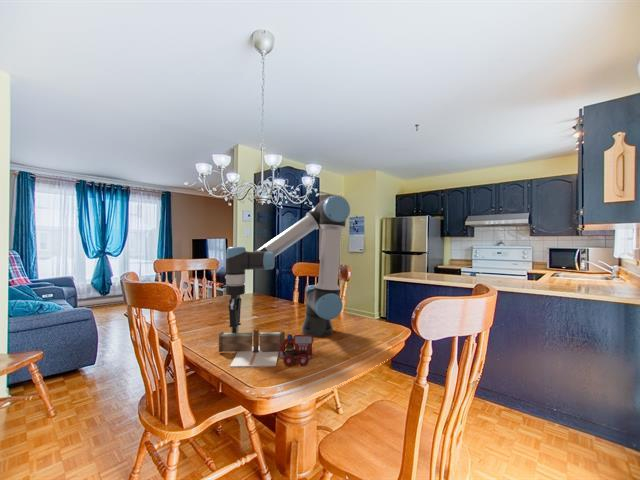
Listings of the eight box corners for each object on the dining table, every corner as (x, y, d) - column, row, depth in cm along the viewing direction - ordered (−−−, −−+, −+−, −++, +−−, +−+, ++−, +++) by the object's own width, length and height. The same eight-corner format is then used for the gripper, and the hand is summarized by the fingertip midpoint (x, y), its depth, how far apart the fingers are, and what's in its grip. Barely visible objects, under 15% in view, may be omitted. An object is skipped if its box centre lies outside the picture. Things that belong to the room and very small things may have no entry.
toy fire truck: (281, 358, 109) (281, 330, 109) (314, 359, 108) (314, 331, 109) (277, 366, 102) (278, 336, 102) (312, 367, 102) (312, 337, 102)
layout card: (279, 346, 121) (279, 345, 121) (275, 366, 102) (275, 364, 102) (241, 347, 120) (241, 346, 120) (229, 367, 101) (229, 365, 101)
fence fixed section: (284, 351, 116) (284, 328, 116) (284, 352, 114) (284, 330, 114) (253, 351, 115) (253, 329, 115) (252, 353, 113) (253, 330, 113)
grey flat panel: (252, 349, 115) (252, 331, 115) (251, 351, 113) (251, 333, 113) (219, 350, 114) (219, 332, 114) (218, 352, 112) (218, 333, 112)
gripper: (230, 282, 124) (229, 337, 123) (221, 287, 111) (221, 348, 110) (247, 282, 124) (247, 336, 124) (241, 286, 111) (241, 348, 111)
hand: (234, 342), depth 117 cm, fingers closed
